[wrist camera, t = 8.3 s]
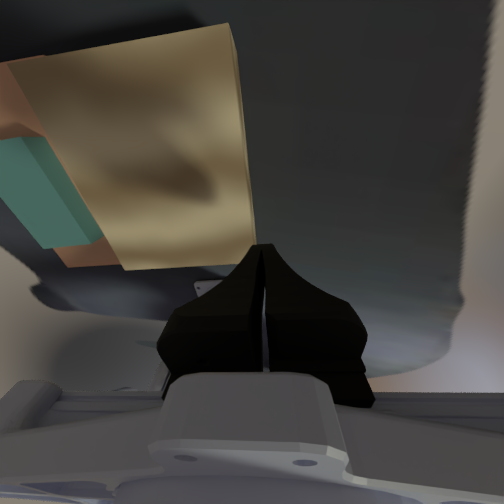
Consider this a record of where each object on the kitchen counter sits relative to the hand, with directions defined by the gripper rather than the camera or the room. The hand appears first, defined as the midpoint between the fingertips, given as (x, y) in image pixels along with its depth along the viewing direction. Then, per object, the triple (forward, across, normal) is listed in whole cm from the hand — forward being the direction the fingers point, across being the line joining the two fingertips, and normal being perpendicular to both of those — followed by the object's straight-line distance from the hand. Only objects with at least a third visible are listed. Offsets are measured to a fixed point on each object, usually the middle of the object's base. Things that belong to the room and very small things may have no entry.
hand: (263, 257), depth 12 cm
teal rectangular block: (+7, +22, -4) cm, 23 cm away
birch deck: (+9, +8, -4) cm, 13 cm away
